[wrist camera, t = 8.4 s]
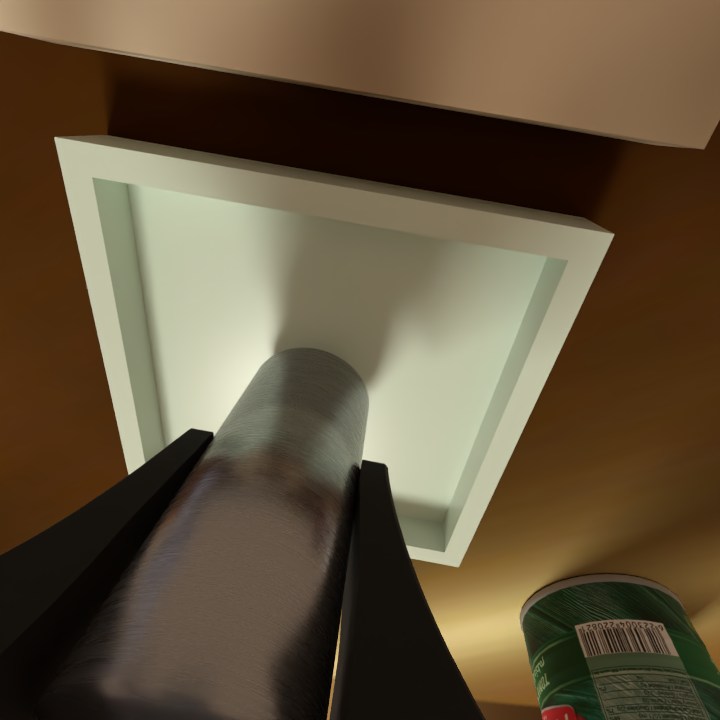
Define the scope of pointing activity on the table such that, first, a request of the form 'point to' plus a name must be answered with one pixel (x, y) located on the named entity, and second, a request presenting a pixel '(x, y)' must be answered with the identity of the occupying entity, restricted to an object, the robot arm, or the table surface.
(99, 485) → the table surface
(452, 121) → the table surface
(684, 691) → the canned tomato
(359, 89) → the wooden square frame
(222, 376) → the tray
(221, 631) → the grey metal cylinder
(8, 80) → the table surface
